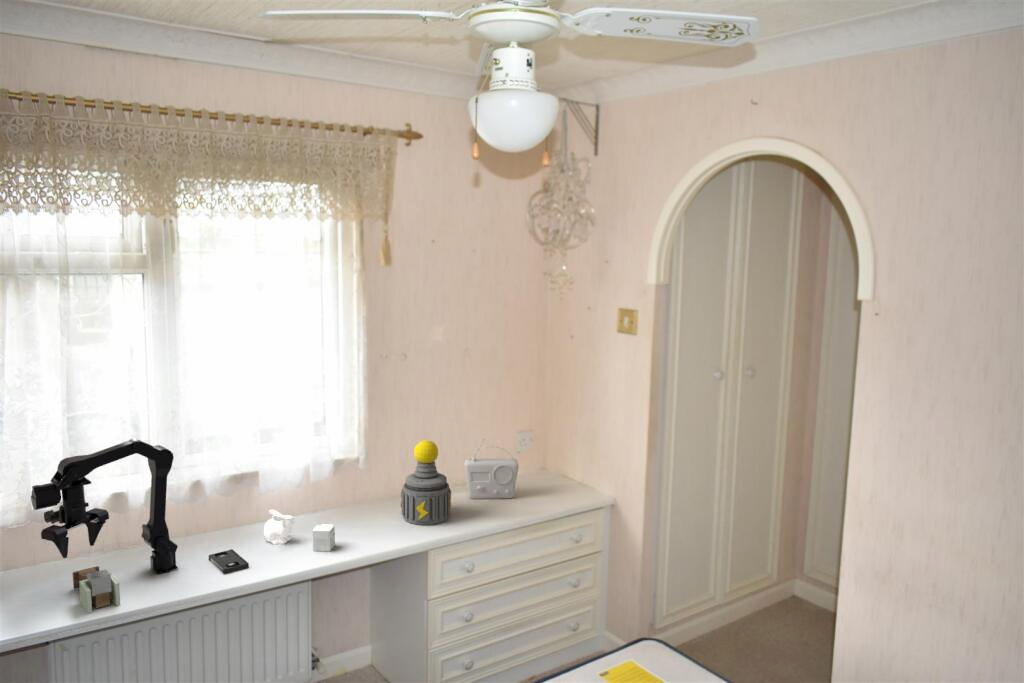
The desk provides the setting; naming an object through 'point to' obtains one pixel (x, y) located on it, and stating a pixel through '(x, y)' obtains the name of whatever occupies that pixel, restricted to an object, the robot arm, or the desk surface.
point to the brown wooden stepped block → (96, 600)
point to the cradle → (86, 594)
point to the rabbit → (278, 528)
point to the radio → (491, 477)
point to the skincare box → (323, 537)
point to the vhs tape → (228, 561)
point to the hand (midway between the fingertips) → (78, 551)
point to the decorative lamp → (426, 489)
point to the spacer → (99, 582)
